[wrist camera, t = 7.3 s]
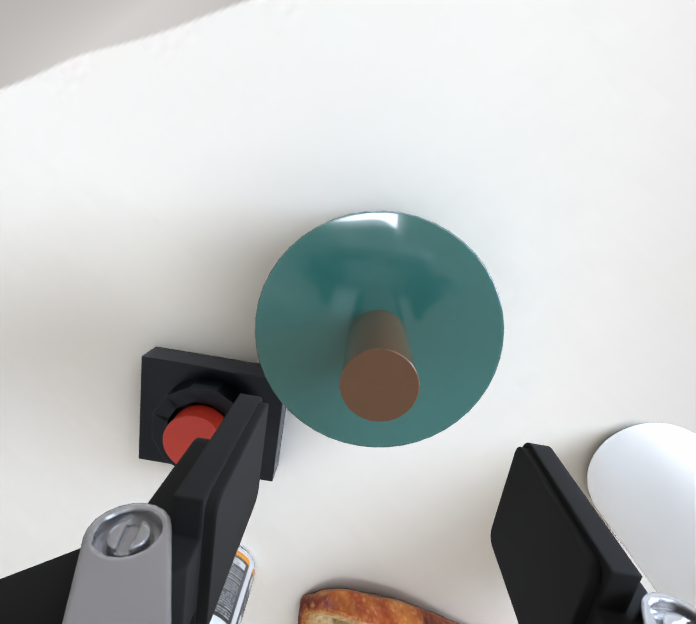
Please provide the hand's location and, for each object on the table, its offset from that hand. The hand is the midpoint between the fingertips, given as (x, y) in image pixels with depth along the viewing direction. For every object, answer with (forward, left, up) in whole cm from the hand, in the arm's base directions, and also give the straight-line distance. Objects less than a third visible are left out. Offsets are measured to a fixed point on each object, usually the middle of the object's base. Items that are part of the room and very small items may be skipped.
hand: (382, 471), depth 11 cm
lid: (0, 0, -11) cm, 11 cm away
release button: (-11, -12, -18) cm, 24 cm away
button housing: (-11, -12, -22) cm, 27 cm away
